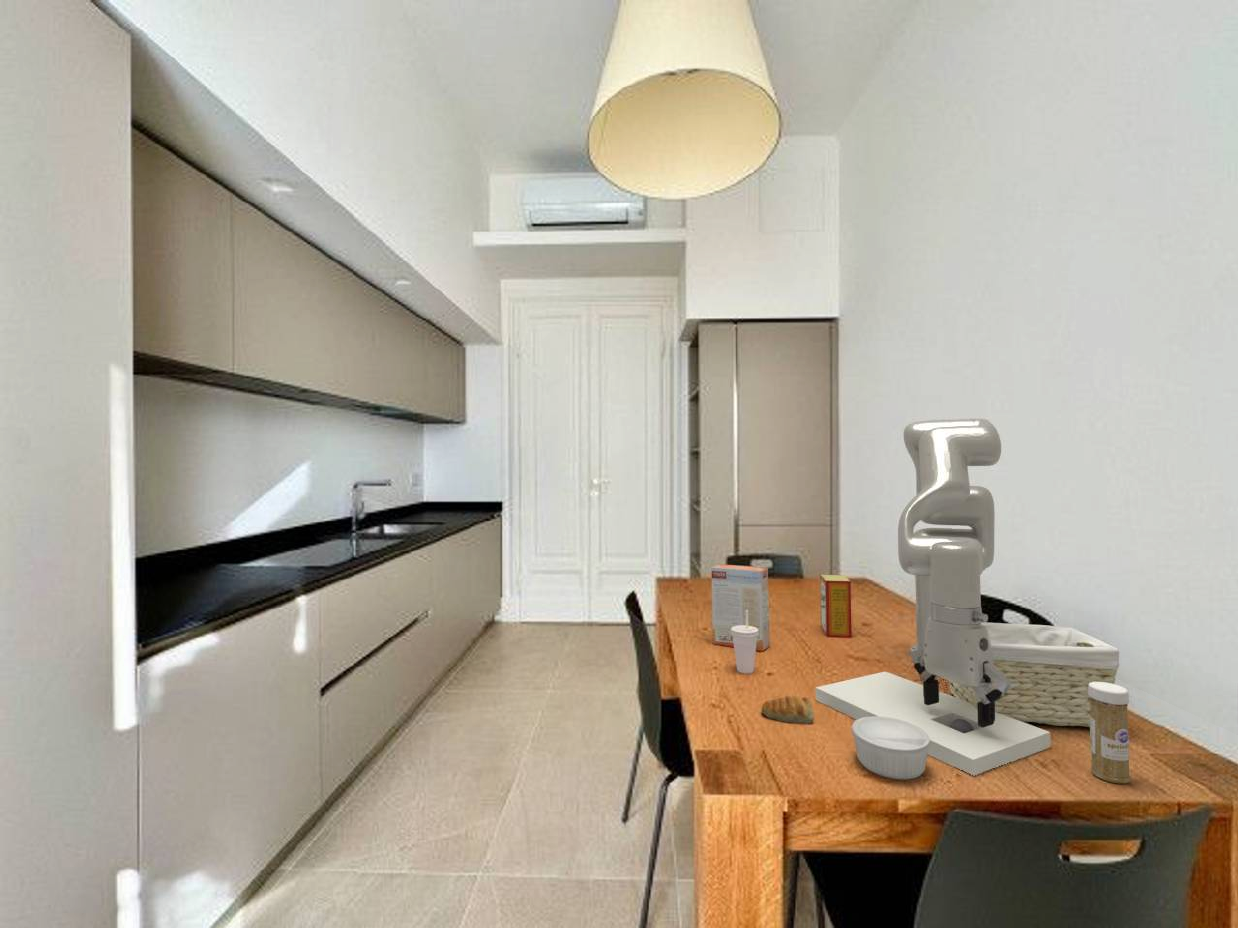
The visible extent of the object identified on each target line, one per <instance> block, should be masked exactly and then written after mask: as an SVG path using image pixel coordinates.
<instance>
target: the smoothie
mask: <svg viewBox="0 0 1238 928" xmlns="http://www.w3.org/2000/svg"><path fill="white" fill-rule="evenodd" d="M731 634H732V636H733V643H734V647H733V649H734V656H735V662H736V663H735V664H736V672H738V673H740V674H752V673H754V671H755V670H754V669H755V660H756V659H755V658H756V643H757V635H758V634H759V631H758V629H757V628H756V627H753V626H748V610H746V625H739V626H733V627H732V628H731Z"/></svg>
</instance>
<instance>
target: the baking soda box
mask: <svg viewBox="0 0 1238 928" xmlns="http://www.w3.org/2000/svg"><path fill="white" fill-rule="evenodd" d="M819 587H820V588H819V589H820V591H819V592H820V595H819V596H820V628H822V629H821V630H822V631H823V634H824V636H826V638H837V639H839V638H840V639H841V638H842V639H852V590H851V589H852V585H851V580H850V579H849V578H847V576H845V575H844V574H819Z"/></svg>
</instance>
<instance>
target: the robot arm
mask: <svg viewBox="0 0 1238 928" xmlns="http://www.w3.org/2000/svg"><path fill="white" fill-rule="evenodd" d="M903 442H904V445H905V449H906V451H907V452H908V454H909V456H910V458H911V460H912V462H913V464H914V468H915V475H916V476H915V477H916V479H915V480H916V483H915V486H916V496H914V497H913V498H912V499H911V500H910V501H909V502H908V503H907V504H906V506H905V507H904V509H903V511H902V512H901V515H900V517H899V521H898V524H897V525H898V526H897V549H898V561H899V565H900V567H901V569H902V570H903V572H905V573H907V574H908V575H912V576H914V577H915V578H914V581H915V615H916V616H915V621H916V622H915V626H916V627H915V629H916V645H913V646H911V647H910V648H909V656H910V658H911V662H912V663H913V667H914V668H913V669H915V671H916V672H917V673H918V675H919V677H918V678H919V680H920V682H922V685H923V696H924V704H925V705H932V704H935V703H938V702H939V691H940V689H939V688H940V682H939V680H938V679H936V678H937V677H938V678H942V679H943V680H947V681H948V682H949V681H952V682H955V683H958V684H961V685H964V686H967V687H970V688H973V689H974V691H975V692H976V694H977V695H978V697H979V698H980V700H981V701H980V702H978V704H977V707H978V725H979V726H980V727H987V726H990V725H993V724H994V721H995V701H998V700H999V699H1000V698H1002V697H1003V696H1005V695H1006V692H1007V691H1008V689H1009V687H1010V686H1011V681H1010V680H1009V679H1008V678H1006V677H1005V676H1004V675H1003V674H1001V673H1000V672H999V671H998V670H996V669H995V668H994V661H993V653H992V647H991V642H990V637H989V634H988V630H987V627H986V626H984V625H981V623H982V622H987V623H988V621H989V615H988V614H986V613H983V612H982V611H983V610H982V605H981V603H982V601H981V597H982V595H981V575H982V574H983V571H985V570H986V569H988V568H990V567H991V566H992V565H993V562H994V558H995V514H996V513H995V502H994V498H993V495H992V493H991V491H990V490H989V489H987V488H986V487H983V486H981V485H979V486H978V485H971V484H970V476H969V468H968V467H991V466H994V465H996V464H997V463H998V462H999V461H1000V458H1001V455H1002V441H1001V438H1000V435H999V433H998V430H997V427H995V426H994V424H992V423H991V421H990V420H988V419H985V418H962V419H961V418H958V419H935V420H934V419H933V420H931V419H930V420H921V421H914V422H912V423H909V424H907V425H906V426H905V428H904V430H903ZM920 521H921V522H922V523H925V524H927V525H928V524H929V525H936V526H937V525H938V526H964V527H965V526H967V527H970V528H968V529H967V528H951V527H949V528H948V527H947V528H946V527H942V528H941V527H926V528H920V529H918V530H916V531H914V529H915V526H916V525H917V523H919V522H920ZM994 681H995V682H996V688H995V689H994V690H993V688H992V687H991V685H990V684H993V683H994ZM983 689H984V690H983ZM985 692H986V693H985Z"/></svg>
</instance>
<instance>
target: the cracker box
mask: <svg viewBox="0 0 1238 928" xmlns="http://www.w3.org/2000/svg"><path fill="white" fill-rule="evenodd" d="M768 569H769V568H768V567H763V566H762V567H761V566H759V567H758V566H748V565H734V564H717V565H713V566H711V617H712V622H711V623H712V628H711V629H712V644H713V645H719V646H725V647H730V648H731V647H732V648H734V643H733V636H732V634H731V628H732V627H733V626H739V625H746V610H748V626H753V627H756V628H757V629H758V631H759V634H758V635H757V643H756V651H758V652H764V651H765V650H767V649H768V648H769V647H770V645H771V644H770V610H769V609H770V606H769V604H770V601H769V598H770V597H769V570H768Z"/></svg>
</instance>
